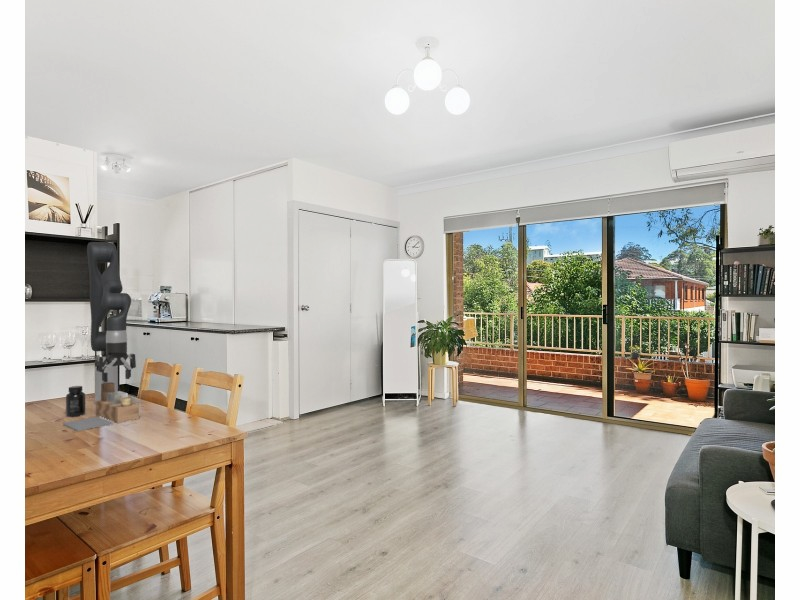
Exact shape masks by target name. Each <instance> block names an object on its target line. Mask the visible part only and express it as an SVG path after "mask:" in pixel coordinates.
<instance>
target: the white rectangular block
mask: <svg viewBox="0 0 800 600" xmlns="http://www.w3.org/2000/svg"><path fill="white" fill-rule="evenodd" d="M125 397H129V393H127V392H124V391H121V390H118V391H115V392H109V393H106V403H109V404H113V405H120V404H121V398H125Z"/></svg>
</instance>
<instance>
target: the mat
mask: <svg viewBox="0 0 800 600" xmlns="http://www.w3.org/2000/svg"><path fill="white" fill-rule="evenodd" d="M113 423H114V422H113V421H110V420H108V419H105V418H102V417H99V416H93V417H88V418H84V419H83V418H82V419H79V420H73V421H67V422H63V423H62V425H63V426H64V425H65V426H64V427H66V426H67V427H66V428H68V427H69V429H71V430H73V429H74V430H73V431H75V430H76V432H82V431H81V430H83V431H86V430H85V429H88V430H91V429H90V428H93V429H96V428H95V427H98V428H101V427H100V426H103V427H106V426H105V425H107V426H111V425H110V424H112V425H113Z"/></svg>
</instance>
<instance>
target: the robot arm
mask: <svg viewBox="0 0 800 600" xmlns="http://www.w3.org/2000/svg"><path fill="white" fill-rule="evenodd" d="M86 246H87V247H86V252H87V253H86V254H87V264H88V273H89V305H90V306H89V307H90V317H91V318H90V324H91V325H90V348H91V350H92V351H94V352H105V356H97V357H96V359H95V360H94V404H96V401H100V400H101V384H103V383H110V382H112V383H115V391H119V373H118V371H119V369H118V368H119V367H118V366H122V367H123V368H124V369H125V380H130V378H131V377H132V369H135V368H137V363H136V362H137V361H136V354H135V353H129V354H128V333H127V332H128V331H127V318H128V315H129V311H130V306H131V304H132V297H131V295H130V294H129V293H127V292H126V293H125V292H123V284H122V281H121V277H120V268H119V258H118V257H119V256H118V250H117V247H116V245H115V243H114V242H111V241H98V242H97V241H91V242H88V244H87V245H86ZM100 263H101V264H106V263H107V264H108V265H107V267H106V268H105V270H103V272H102V274H101V272H100V270H99V268H98V264H100ZM111 311H119V312H118V313H117V314H115V315H110V316H108V317H107V315H109V313H110V312H111ZM106 317H107V318H106ZM105 319H106V330H105V331H100V327H101V325H102V323H103V321H104V320H105ZM128 359H129V363H128V362H127V360H128Z"/></svg>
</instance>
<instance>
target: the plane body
mask: <svg viewBox="0 0 800 600" xmlns="http://www.w3.org/2000/svg"><path fill="white" fill-rule="evenodd" d="M109 392H115V383H112V382H110V383H103V384H101V400H100V401H96V403H95V415H96V416H97V415H99V416H101V417H100V418H102V417H104V418H103V419H105V418H106V419H105V420H108V419H109V420H108V421H110V420H111V421H110V422H113V421H114V422H113V423H116V424H121V422H122V423H125V422H124V421H127V422H130V421H129V420H132V421H135V419H137V420H139V419H140V418H139V417H140V415H139V414H140V410H139V409H140V408H139V407H140V405H139V404H138V403H135V402H132V397H129V396H128V397H125V398H121V404H120V405H113V404H109V403H106V393H109ZM99 416H98V417H99Z"/></svg>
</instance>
